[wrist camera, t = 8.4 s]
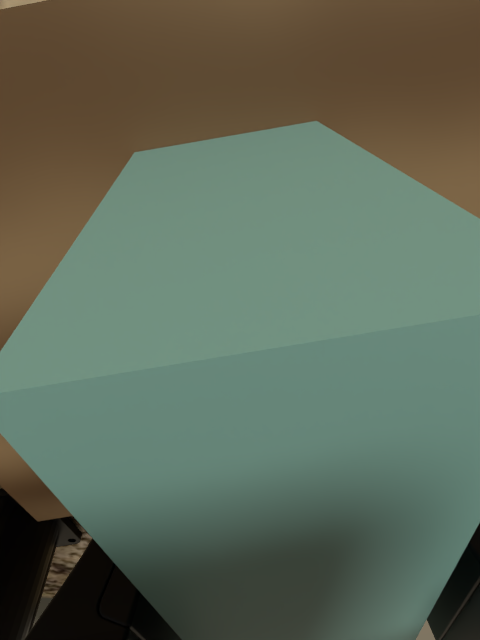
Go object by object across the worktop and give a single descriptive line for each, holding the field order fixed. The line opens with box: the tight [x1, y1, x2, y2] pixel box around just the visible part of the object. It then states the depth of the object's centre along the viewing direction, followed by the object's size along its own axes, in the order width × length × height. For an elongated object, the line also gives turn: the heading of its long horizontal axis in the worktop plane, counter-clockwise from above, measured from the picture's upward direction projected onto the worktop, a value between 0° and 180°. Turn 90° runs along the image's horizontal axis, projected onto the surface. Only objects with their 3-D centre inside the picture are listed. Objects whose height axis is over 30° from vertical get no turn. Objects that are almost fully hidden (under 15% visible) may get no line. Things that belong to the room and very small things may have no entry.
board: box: [0, 0, 480, 521], centre depth 13 cm, size 17×18×3 cm
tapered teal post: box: [0, 121, 480, 640], centre depth 9 cm, size 12×4×7 cm, turn 8°
